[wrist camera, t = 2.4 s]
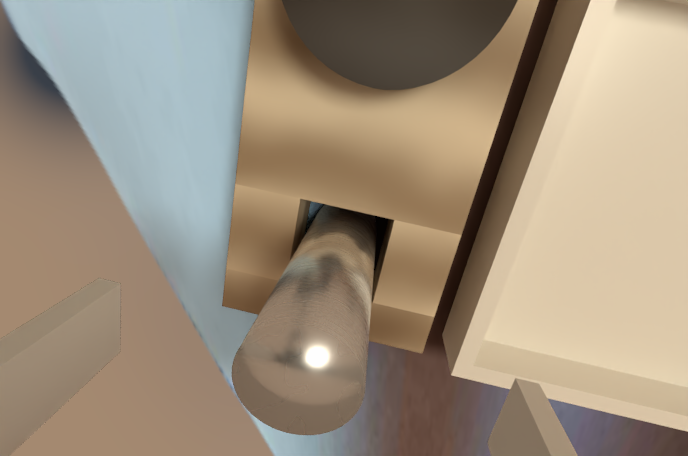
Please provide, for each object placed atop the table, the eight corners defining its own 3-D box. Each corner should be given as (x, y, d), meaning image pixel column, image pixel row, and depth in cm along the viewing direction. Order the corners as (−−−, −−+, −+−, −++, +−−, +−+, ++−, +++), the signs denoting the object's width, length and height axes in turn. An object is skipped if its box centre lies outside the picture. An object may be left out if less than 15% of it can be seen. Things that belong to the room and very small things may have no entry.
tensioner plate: (302, -169, 18) (240, -361, 11) (553, -120, 18) (679, -282, 10) (245, 275, 26) (187, 350, 19) (417, 315, 26) (429, 409, 18)
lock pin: (320, 191, 24) (239, 310, 11) (383, 205, 24) (378, 343, 11) (309, 249, 25) (225, 417, 12) (369, 263, 25) (349, 447, 12)
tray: (570, -37, 19) (616, -69, 15) (947, 40, 18) (1093, 26, 14) (442, 335, 26) (451, 375, 23) (706, 397, 26) (761, 448, 22)
